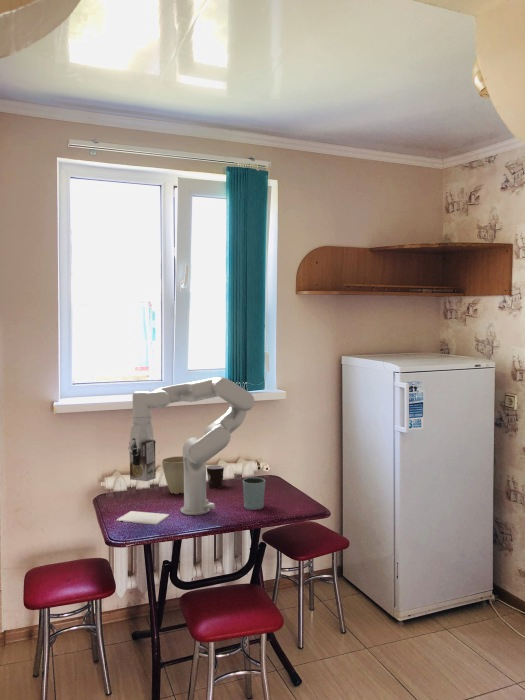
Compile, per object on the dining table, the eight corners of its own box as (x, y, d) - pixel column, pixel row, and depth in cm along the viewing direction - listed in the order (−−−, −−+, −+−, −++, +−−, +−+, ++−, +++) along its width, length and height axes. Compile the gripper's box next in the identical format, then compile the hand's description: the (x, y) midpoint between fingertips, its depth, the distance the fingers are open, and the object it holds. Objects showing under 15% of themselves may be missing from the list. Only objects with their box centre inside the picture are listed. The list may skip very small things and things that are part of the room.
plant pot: (185, 486, 289) (185, 454, 289) (198, 493, 277) (197, 460, 276) (157, 490, 282) (157, 458, 281) (169, 497, 269) (168, 464, 268)
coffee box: (156, 478, 242) (155, 440, 242) (147, 481, 236) (146, 442, 236) (138, 476, 246) (138, 438, 246) (129, 479, 240) (128, 441, 240)
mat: (169, 515, 242) (169, 514, 242) (156, 524, 231) (156, 523, 231) (130, 512, 247) (130, 511, 247) (116, 521, 236) (116, 519, 236)
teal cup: (249, 502, 261) (249, 476, 260) (269, 505, 256) (269, 478, 256) (238, 508, 252) (238, 481, 251) (259, 511, 247) (259, 483, 247)
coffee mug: (206, 484, 292) (206, 465, 292) (223, 484, 293) (223, 464, 293) (207, 491, 280) (206, 470, 280) (224, 490, 281) (224, 470, 281)
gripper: (149, 417, 250) (149, 458, 250) (120, 422, 235) (121, 466, 235) (162, 418, 246) (163, 460, 247) (134, 424, 231) (135, 468, 232)
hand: (142, 462), depth 241 cm, fingers closed on coffee box, 6 cm apart
